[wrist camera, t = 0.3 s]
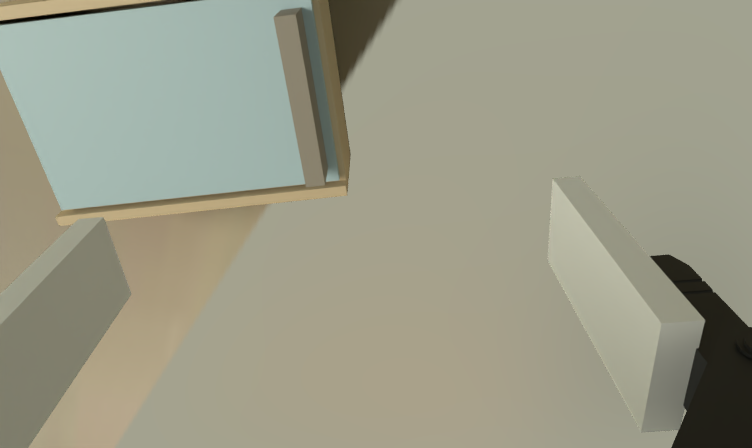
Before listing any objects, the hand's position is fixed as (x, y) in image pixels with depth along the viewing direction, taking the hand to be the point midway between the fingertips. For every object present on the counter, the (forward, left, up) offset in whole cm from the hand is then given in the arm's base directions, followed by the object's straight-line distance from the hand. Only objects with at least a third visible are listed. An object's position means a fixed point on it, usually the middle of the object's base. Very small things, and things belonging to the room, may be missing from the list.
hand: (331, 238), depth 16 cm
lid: (+1, -11, -20) cm, 23 cm away
